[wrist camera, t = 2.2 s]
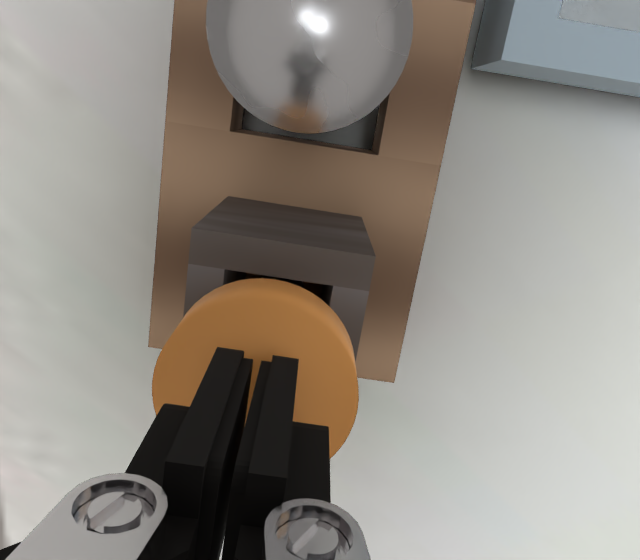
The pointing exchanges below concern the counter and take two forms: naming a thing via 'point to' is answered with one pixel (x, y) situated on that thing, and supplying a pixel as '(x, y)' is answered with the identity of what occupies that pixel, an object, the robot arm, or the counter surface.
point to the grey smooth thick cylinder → (309, 57)
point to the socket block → (304, 190)
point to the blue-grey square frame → (556, 47)
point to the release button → (266, 349)
